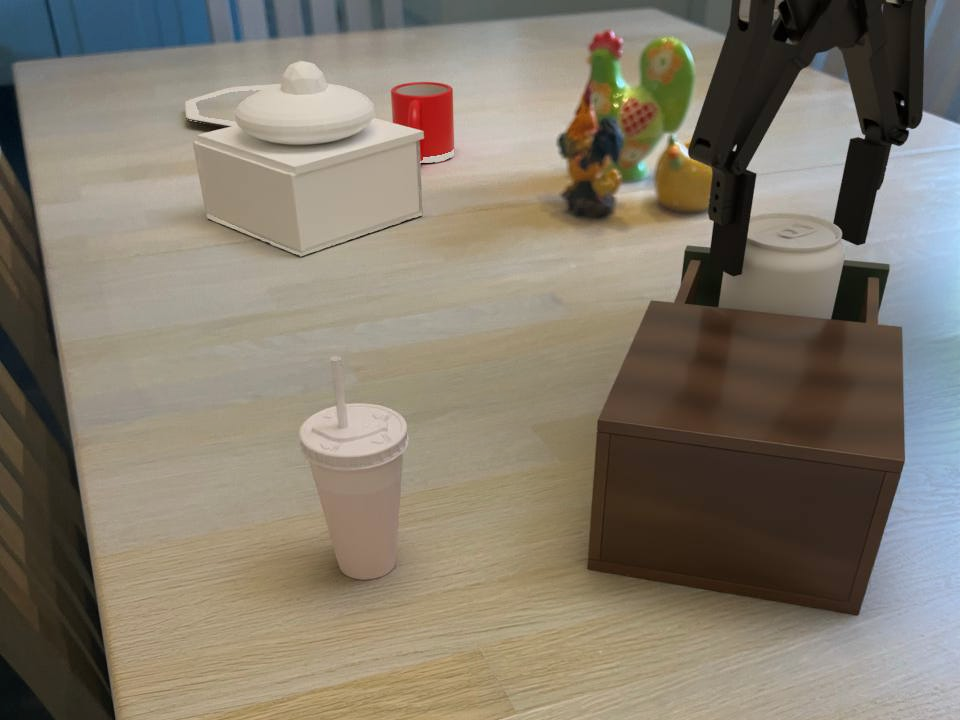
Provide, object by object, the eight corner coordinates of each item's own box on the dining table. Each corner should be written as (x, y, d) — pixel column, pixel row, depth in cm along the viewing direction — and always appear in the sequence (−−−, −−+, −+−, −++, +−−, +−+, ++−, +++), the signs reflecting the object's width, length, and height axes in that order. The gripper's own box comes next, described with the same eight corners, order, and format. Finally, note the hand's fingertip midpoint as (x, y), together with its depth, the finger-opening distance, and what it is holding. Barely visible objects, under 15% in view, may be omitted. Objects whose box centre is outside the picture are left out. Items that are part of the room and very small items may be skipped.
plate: (277, 144, 138) (276, 132, 137) (152, 122, 147) (150, 111, 146) (379, 106, 153) (379, 95, 152) (260, 88, 162) (259, 77, 161)
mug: (386, 173, 127) (381, 104, 122) (399, 146, 136) (395, 81, 131) (448, 174, 127) (446, 105, 122) (457, 147, 136) (455, 81, 131)
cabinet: (637, 435, 77) (650, 299, 70) (864, 467, 73) (902, 326, 66) (586, 569, 64) (597, 419, 57) (858, 615, 60) (905, 460, 53)
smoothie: (320, 536, 67) (291, 336, 58) (416, 531, 68) (402, 331, 58) (314, 595, 63) (282, 387, 53) (418, 590, 63) (404, 382, 54)
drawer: (684, 322, 90) (696, 221, 84) (864, 342, 87) (890, 238, 81) (639, 443, 74) (651, 329, 68) (857, 474, 71) (889, 356, 65)
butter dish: (206, 219, 115) (177, 61, 105) (330, 183, 125) (314, 35, 114) (301, 257, 106) (279, 88, 95) (427, 215, 115) (420, 57, 105)
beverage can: (685, 385, 79) (706, 227, 71) (751, 355, 83) (778, 202, 75) (769, 423, 74) (801, 259, 66) (836, 389, 78) (873, 230, 70)
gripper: (952, -154, 64) (871, 209, 78) (650, -131, 56) (622, 268, 70) (1053, -149, 59) (947, 239, 73) (737, -123, 51) (688, 305, 65)
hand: (787, 253), depth 72 cm, fingers open, 10 cm apart
